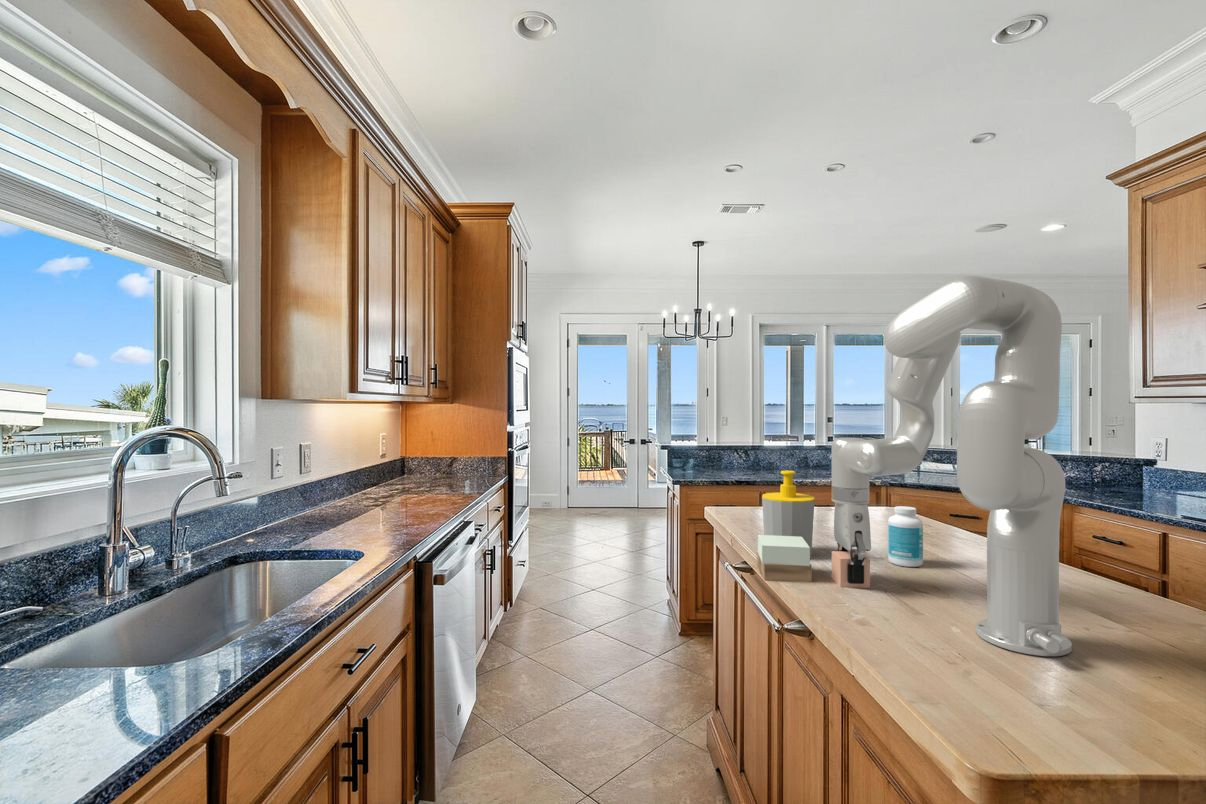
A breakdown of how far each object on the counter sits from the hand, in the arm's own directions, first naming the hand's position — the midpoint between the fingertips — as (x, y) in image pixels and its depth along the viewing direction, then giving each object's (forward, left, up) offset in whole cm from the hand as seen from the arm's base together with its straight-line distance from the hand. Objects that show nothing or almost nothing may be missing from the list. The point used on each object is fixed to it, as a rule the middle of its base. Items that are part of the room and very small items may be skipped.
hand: (850, 577), depth 123 cm
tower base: (+5, +13, -2) cm, 14 cm away
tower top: (+5, +13, +2) cm, 14 cm away
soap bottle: (+23, +8, -1) cm, 24 cm away
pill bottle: (+16, -18, -1) cm, 24 cm away
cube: (0, 0, -1) cm, 1 cm away
